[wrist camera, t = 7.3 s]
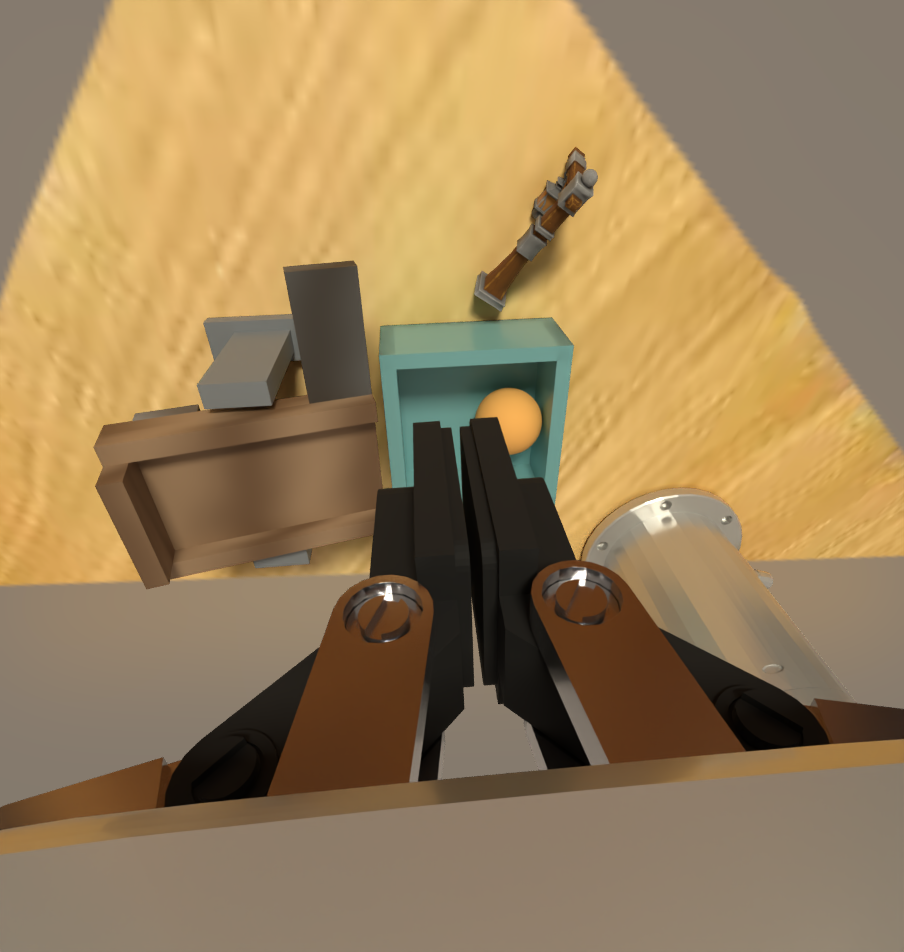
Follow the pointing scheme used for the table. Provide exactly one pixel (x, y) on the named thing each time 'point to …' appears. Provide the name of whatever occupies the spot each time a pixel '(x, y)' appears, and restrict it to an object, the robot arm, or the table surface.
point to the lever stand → (250, 375)
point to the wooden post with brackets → (540, 226)
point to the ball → (513, 417)
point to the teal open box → (473, 384)
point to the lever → (255, 454)
